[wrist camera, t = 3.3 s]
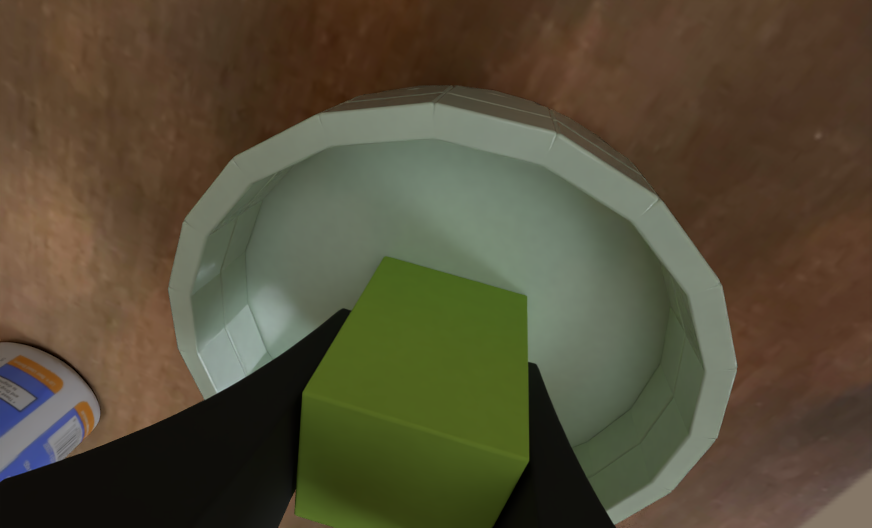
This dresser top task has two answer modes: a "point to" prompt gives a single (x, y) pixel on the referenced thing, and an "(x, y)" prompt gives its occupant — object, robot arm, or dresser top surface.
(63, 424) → the pill bottle
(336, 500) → the cube
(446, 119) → the basin
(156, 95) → the dresser top surface
